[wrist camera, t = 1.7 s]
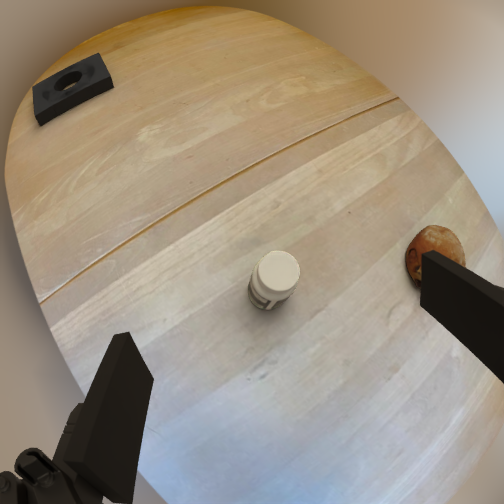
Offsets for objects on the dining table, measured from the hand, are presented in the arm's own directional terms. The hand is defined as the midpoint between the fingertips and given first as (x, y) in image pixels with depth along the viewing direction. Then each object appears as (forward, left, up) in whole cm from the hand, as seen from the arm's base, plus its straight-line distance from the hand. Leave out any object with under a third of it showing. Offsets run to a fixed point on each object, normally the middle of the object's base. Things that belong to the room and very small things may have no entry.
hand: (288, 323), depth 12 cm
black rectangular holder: (-6, +56, -23) cm, 61 cm away
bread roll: (+29, -6, -23) cm, 37 cm away
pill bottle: (+6, +4, -23) cm, 24 cm away
